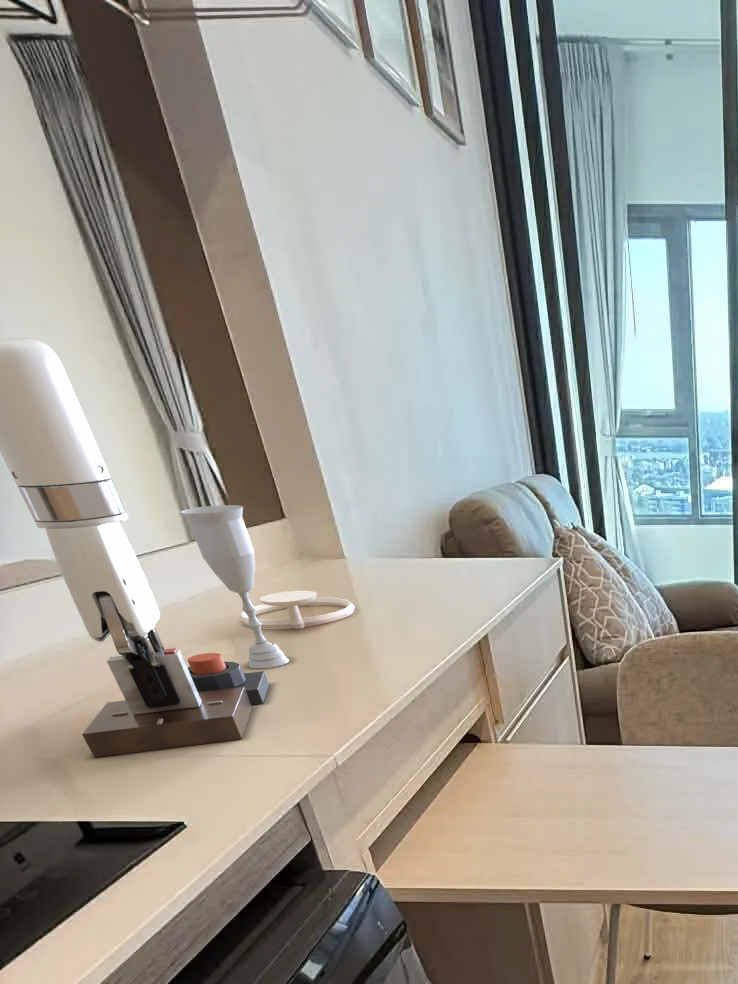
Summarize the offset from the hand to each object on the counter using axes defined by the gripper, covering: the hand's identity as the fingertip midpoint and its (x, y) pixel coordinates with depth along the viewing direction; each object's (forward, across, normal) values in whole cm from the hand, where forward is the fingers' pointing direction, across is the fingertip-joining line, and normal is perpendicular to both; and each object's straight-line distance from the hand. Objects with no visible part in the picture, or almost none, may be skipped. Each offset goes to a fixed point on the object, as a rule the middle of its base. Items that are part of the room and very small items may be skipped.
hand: (166, 700), depth 91 cm
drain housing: (+3, -11, +3) cm, 12 cm away
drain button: (0, -11, +3) cm, 11 cm away
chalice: (+4, -26, +7) cm, 27 cm away
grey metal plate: (+1, 0, 0) cm, 1 cm away
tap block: (+3, 0, 0) cm, 3 cm away
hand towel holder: (+4, -52, +10) cm, 53 cm away
